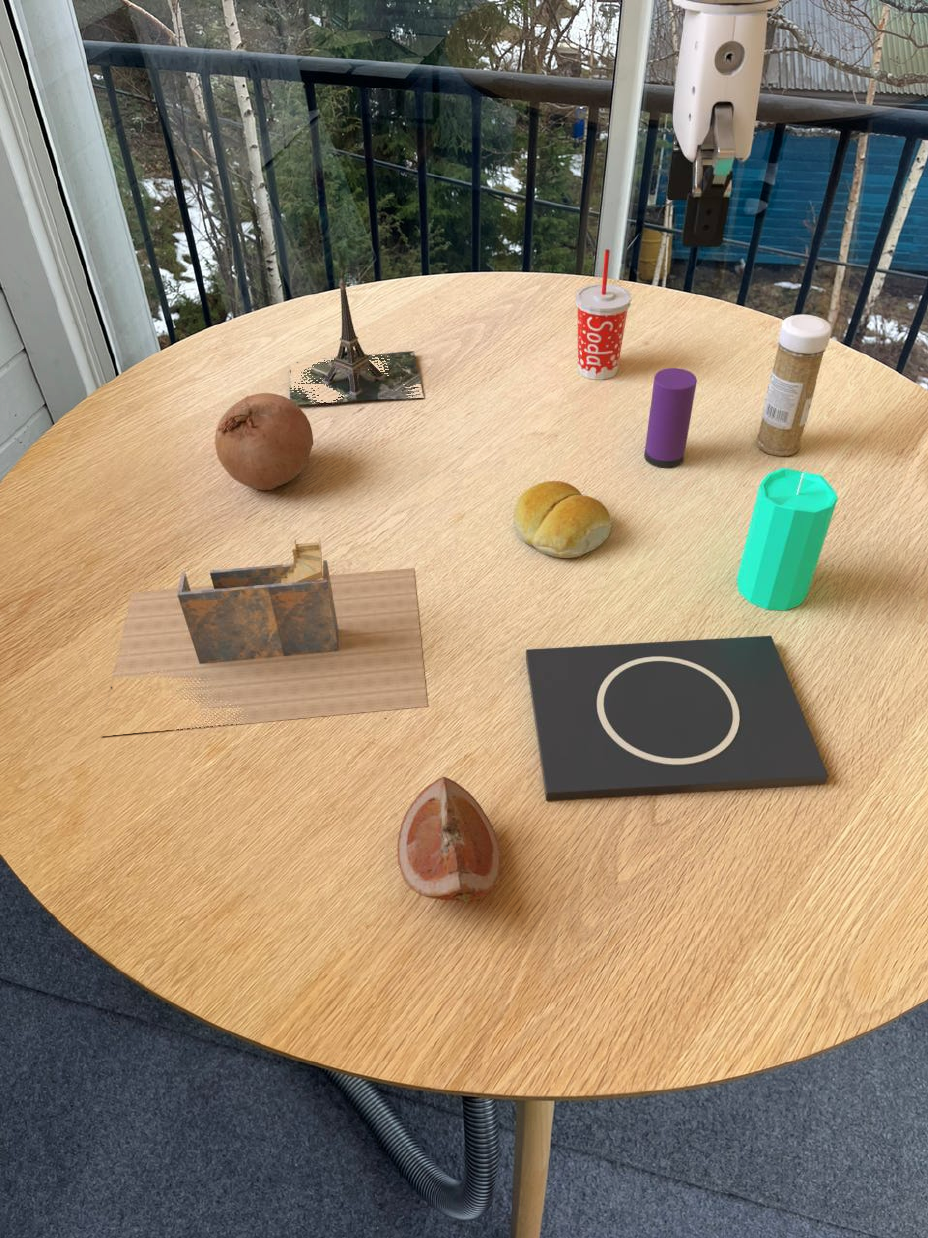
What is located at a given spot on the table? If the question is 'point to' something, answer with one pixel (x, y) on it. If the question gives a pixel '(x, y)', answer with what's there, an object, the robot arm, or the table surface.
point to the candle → (785, 538)
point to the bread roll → (560, 520)
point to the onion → (264, 441)
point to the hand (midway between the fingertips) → (692, 221)
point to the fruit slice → (448, 845)
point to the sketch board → (668, 719)
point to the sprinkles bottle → (792, 383)
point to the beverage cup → (601, 326)
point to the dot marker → (669, 417)
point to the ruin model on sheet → (283, 640)
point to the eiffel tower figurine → (361, 369)
